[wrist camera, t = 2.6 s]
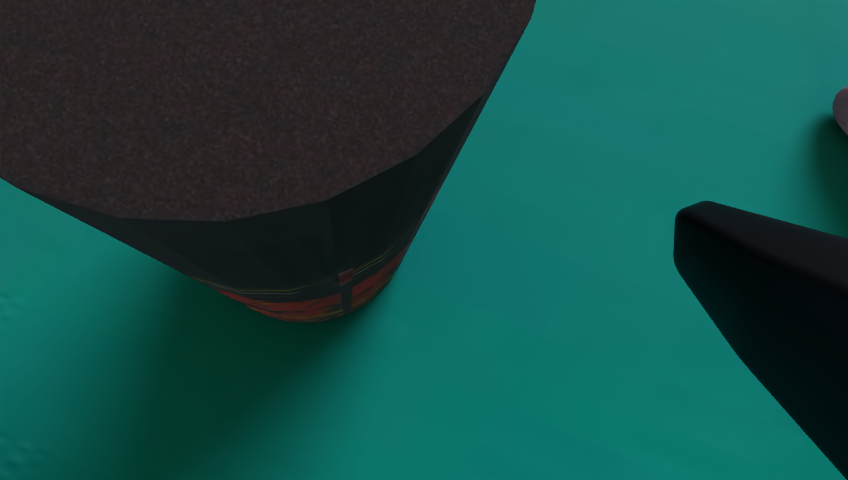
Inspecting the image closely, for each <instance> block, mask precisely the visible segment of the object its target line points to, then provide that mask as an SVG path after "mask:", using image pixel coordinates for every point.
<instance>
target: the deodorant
mask: <svg viewBox="0 0 848 480" xmlns="http://www.w3.org/2000/svg"><path fill="white" fill-rule="evenodd" d="M535 2H536V0H0V178H2V179H3V180H5V181H7V182H8V183H10V184H11V185H13V186H15V187H16V188H18V189H20V190H22V191H24V192H26V193H28V194H30V195H32V196H34V197H36V198H38V199H40V200H42V201H44V202H45V203H47V204H49V205H51V206H53V207H55V208H57V209H59V210H61V211H63V212H65V213H67V214H69V215H71V216H73V217H75V218H77V219H78V220H80V221H82V222H84V223H86V224H88V225H90V226H92V227H94V228H96V229H98V230H100V231H102V232H104V233H106V234H108V235H110V236H111V237H113V238H115V239H117V240H119V241H121V242H123V243H125V244H127V245H129V246H131V247H133V248H135V249H137V250H139V251H141V252H143V253H145V254H146V255H148V256H150V257H152V258H154V259H156V260H158V261H160V262H162V263H164V264H166V265H168V266H170V267H172V268H174V269H176V270H178V271H179V272H181V273H183V274H185V275H187V276H189V277H191V278H193V279H195V280H197V281H199V282H201V283H203V284H205V285H207V286H209V287H211V288H212V289H214V290H216V291H218V292H220V293H222V294H224V295H226V296H228V297H230V298H232V299H234V300H236V301H238V302H240V303H242V304H244V305H245V306H247V307H249V308H251V309H253V310H255V311H257V312H259V313H261V314H263V315H266V316H270V317H273V318H277V319H280V320H284V321H287V322H301V323H318V322H322V321H326V320H330V319H335V318H339V317H343V316H345V315H347V314H349V313H351V312H353V311H355V310H356V309H358V308H360V307H362V306H364V305H366V304H367V303H369V302H370V301H371V300H372V299H373V298H374V297H375V296H376V295H377V294H378V293H379V292H380V291H381V290H382V289H383V288H384V287H386V286H387V284H388V283H389V281H390V279H391V278H392V276H393V275H394V273H395V271H396V270H397V268H398V266H399V265H400V263H401V261H402V260H403V258H404V256H405V254H406V252H407V250H408V248H409V246H410V245H411V243H412V241H413V239H414V237H415V235H416V233H417V231H418V230H419V228H420V226H421V224H422V222H423V220H424V218H425V216H426V215H427V213H428V211H429V209H430V207H431V205H432V203H433V201H434V199H435V198H436V196H437V194H438V192H439V190H440V188H441V186H442V184H443V183H444V181H445V179H446V177H447V175H448V173H449V171H450V169H451V168H452V166H453V164H454V162H455V160H456V158H457V156H458V154H459V153H460V151H461V149H462V147H463V145H464V143H465V141H466V139H467V138H468V136H469V134H470V132H471V130H472V128H473V126H474V124H475V123H476V121H477V119H478V117H479V115H480V113H481V111H482V109H483V108H484V106H485V104H486V102H487V100H488V98H489V96H490V94H491V92H492V91H493V89H494V87H495V85H496V83H497V81H498V79H499V77H500V76H501V74H502V72H503V70H504V68H505V66H506V64H507V62H508V61H509V59H510V57H511V55H512V53H513V51H514V49H515V47H516V46H517V44H518V42H519V40H520V38H521V36H522V34H523V32H524V31H525V29H526V27H527V25H528V23H529V21H530V19H531V16H532V13H533V9H534V6H535Z"/></svg>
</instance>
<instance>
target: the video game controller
mask: <svg viewBox="0 0 848 480" xmlns="http://www.w3.org/2000/svg"><path fill="white" fill-rule="evenodd" d="M833 114H834V116H835V119H836V121H837V122H838V124H839V125H840V127H841V128H842V129H843V131H844V132H845V133H846V134H847V135H848V86H846V87H845V88H843V89H842V90H841V91H839V92H838V94H837V95H836V97H835V99H834V102H833Z"/></svg>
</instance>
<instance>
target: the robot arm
mask: <svg viewBox="0 0 848 480" xmlns="http://www.w3.org/2000/svg"><path fill="white" fill-rule="evenodd" d="M673 257H674V263H675V266H676V268H677V270H678V272H679V274H680V275H681V277H682V278H683V279H684V281H685V282H686V284H687V285H688V287H689V288H690V289H691V291H692V292H693V294H694V295H695V296H696V298H697V299H698V301H699V302H700V303H701V305H702V306H703V308H704V309H705V311H706V312H707V313H708V315H709V316H710V318H711V319H712V320H713V322H714V323H715V325H716V326H717V328H718V329H719V330H720V332H721V333H722V335H723V336H724V337H725V339H726V340H727V342H728V343H729V344H730V346H731V347H732V348H733V350H734V351H735V352H736V354H737V355H738V356H739V358H740V359H741V360H742V361H743V362H744V364H745V365H746V366H747V367H748V368H749V370H750V371H751V372H752V373H753V374H754V375H755V376H756V378H757V379H758V380H759V381H760V382H761V383H762V384H763V386H764V387H765V388H766V389H767V390H768V391H769V392H770V393H771V395H772V396H773V397H774V398H775V399H776V400H777V401H778V402H779V404H780V405H781V406H782V407H783V408H784V409H785V410H786V412H787V413H788V414H789V415H790V416H791V417H792V418H793V419H794V421H795V422H796V423H797V424H798V425H799V426H800V427H801V429H802V430H803V431H804V432H805V433H806V434H807V435H808V436H809V438H810V439H811V440H812V441H813V442H814V443H815V444H816V445H817V447H818V448H819V449H820V450H821V451H822V452H823V453H824V455H825V456H826V457H827V458H828V459H829V460H830V461H831V462H832V464H833V465H834V466H835V467H836V468H837V469H838V470H839V471H840V473H841V474H842V475H843V476H844V477H845V478H846V479H847V480H848V238H844V237H840V236H837V235H833V234H829V233H826V232H822V231H818V230H814V229H811V228H807V227H803V226H800V225H796V224H792V223H789V222H785V221H781V220H778V219H774V218H770V217H767V216H763V215H759V214H755V213H752V212H748V211H744V210H741V209H737V208H733V207H730V206H726V205H722V204H719V203H715V202H711V201H702V202H699V203H696V204H693V205H691V206H688V207H686V208H683V209H681V210H680V211H678V213H677V215H676V217H675V231H674V251H673Z"/></svg>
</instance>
